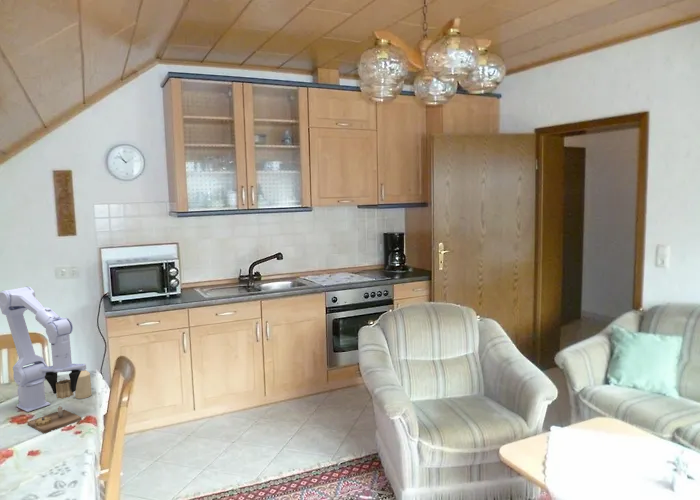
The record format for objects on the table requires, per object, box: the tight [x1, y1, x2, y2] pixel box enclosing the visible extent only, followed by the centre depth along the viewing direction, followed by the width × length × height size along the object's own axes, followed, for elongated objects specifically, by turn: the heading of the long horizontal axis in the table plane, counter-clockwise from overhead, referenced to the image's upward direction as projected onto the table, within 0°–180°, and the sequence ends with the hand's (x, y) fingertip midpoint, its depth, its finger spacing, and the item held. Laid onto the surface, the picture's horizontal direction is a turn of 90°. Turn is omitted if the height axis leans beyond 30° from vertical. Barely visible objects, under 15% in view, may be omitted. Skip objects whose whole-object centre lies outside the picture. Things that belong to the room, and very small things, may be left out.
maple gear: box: [56, 378, 75, 399], centre depth 176 cm, size 5×5×5 cm
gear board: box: [26, 405, 83, 434], centre depth 171 cm, size 12×12×5 cm
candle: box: [74, 369, 92, 400], centre depth 193 cm, size 6×6×10 cm
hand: (64, 391), depth 176 cm, fingers closed on maple gear, 5 cm apart
